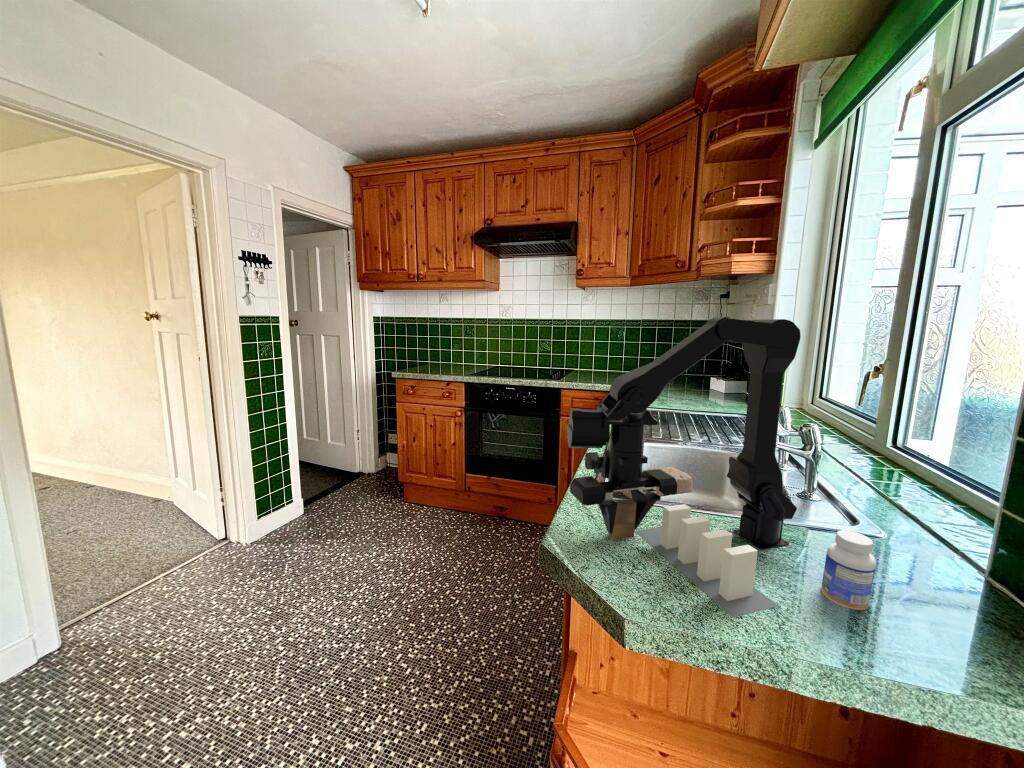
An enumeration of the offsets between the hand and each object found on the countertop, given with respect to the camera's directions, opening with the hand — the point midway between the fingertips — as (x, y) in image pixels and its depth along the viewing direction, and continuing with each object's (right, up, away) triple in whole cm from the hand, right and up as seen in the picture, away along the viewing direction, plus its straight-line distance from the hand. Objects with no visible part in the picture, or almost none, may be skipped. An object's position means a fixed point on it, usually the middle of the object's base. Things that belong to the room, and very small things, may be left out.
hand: (621, 530), depth 74 cm
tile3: (+10, -2, -7) cm, 12 cm away
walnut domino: (0, -2, 0) cm, 2 cm away
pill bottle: (+28, -5, -15) cm, 32 cm away
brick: (+13, +1, +22) cm, 25 cm away
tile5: (+12, -4, -15) cm, 20 cm away
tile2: (+9, -2, -2) cm, 9 cm away
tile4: (+11, -3, -11) cm, 16 cm away
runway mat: (+10, -3, -8) cm, 13 cm away
